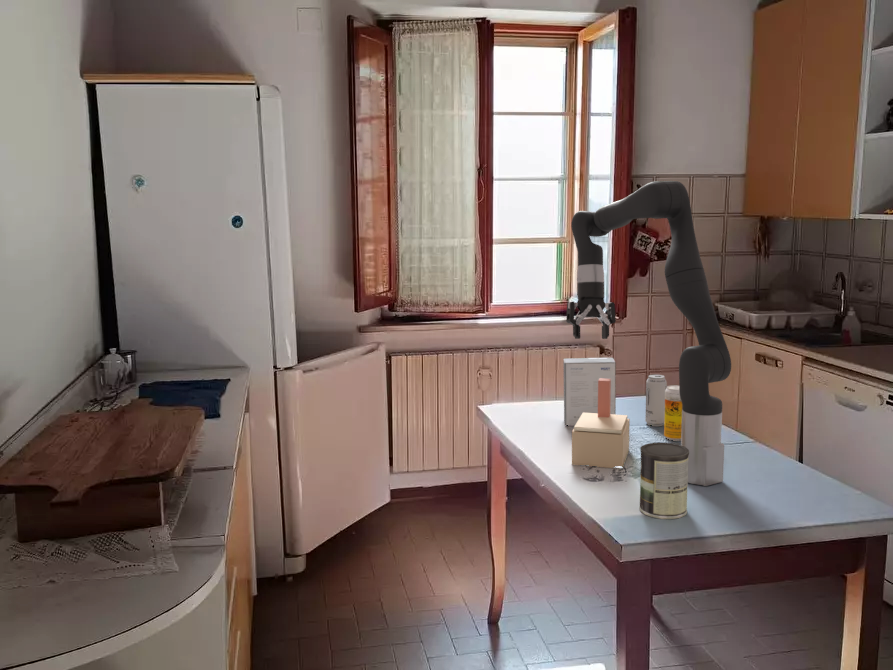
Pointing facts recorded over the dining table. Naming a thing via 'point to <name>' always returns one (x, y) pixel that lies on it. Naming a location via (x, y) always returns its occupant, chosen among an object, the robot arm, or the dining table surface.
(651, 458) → the coffee can
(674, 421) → the beer can
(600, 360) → the hard drive box
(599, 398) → the flap
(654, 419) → the energy drink can
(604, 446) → the carton
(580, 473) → the dining table surface
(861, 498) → the dining table surface
